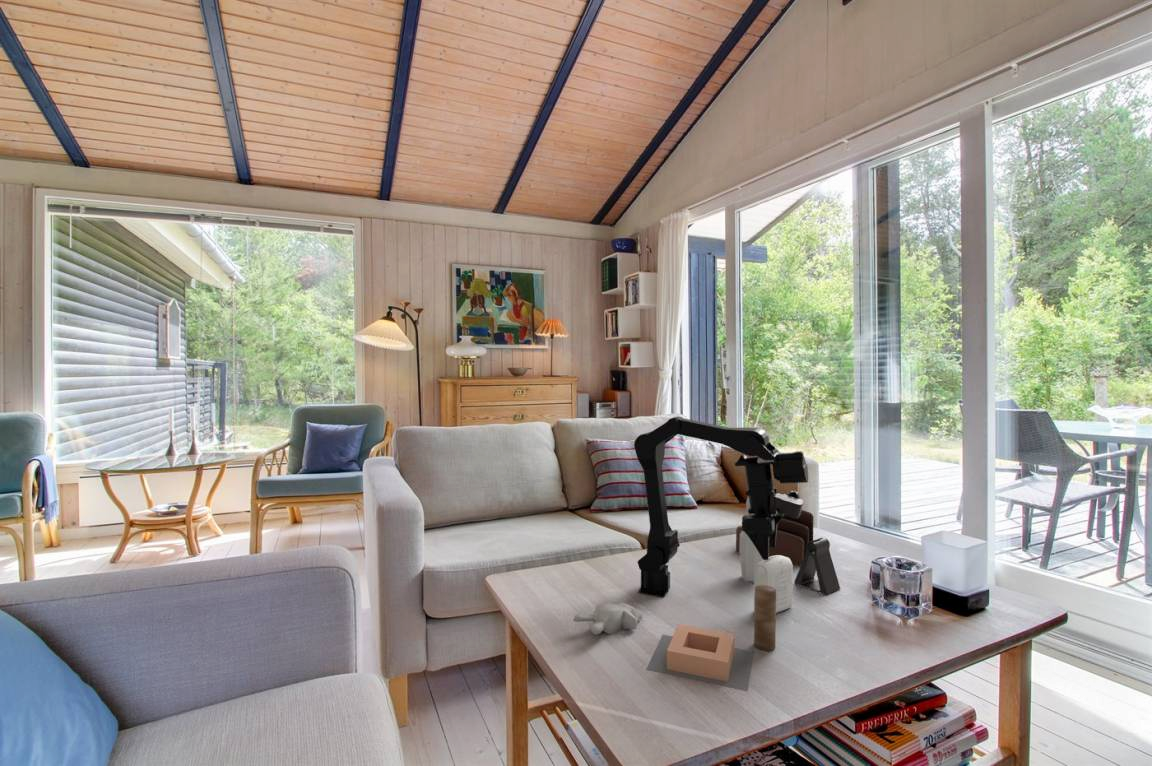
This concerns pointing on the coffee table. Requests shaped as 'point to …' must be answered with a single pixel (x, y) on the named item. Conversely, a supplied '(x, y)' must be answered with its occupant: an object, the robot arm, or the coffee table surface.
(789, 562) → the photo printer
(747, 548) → the faceted bottle
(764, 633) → the walnut peg
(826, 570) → the phone stand
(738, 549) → the letter holder
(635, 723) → the coffee table surface
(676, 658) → the socket block
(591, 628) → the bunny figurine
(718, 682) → the mat
